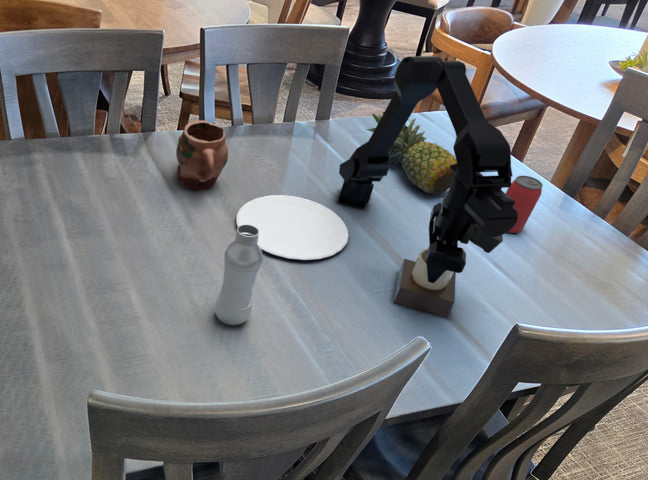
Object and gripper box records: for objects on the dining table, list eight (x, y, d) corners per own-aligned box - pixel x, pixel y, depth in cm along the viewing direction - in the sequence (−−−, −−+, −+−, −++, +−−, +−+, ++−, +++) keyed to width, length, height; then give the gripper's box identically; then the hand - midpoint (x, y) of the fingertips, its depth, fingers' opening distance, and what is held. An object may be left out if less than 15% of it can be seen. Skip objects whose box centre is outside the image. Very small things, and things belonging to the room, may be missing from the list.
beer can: (525, 236, 144) (549, 191, 136) (495, 232, 145) (517, 187, 137) (517, 220, 149) (540, 176, 141) (488, 216, 150) (510, 172, 142)
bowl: (409, 284, 122) (418, 264, 119) (412, 265, 127) (420, 245, 124) (446, 294, 120) (456, 274, 117) (447, 274, 125) (456, 254, 122)
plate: (212, 227, 140) (213, 222, 139) (275, 187, 155) (276, 182, 154) (309, 279, 128) (310, 274, 127) (367, 230, 142) (369, 226, 142)
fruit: (477, 155, 148) (404, 91, 167) (430, 172, 147) (362, 106, 166) (464, 197, 158) (397, 133, 177) (420, 214, 157) (357, 147, 176)
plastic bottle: (210, 306, 120) (224, 219, 107) (245, 305, 121) (263, 219, 108) (216, 330, 115) (231, 242, 102) (252, 329, 116) (272, 241, 103)
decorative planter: (235, 203, 148) (244, 150, 139) (185, 208, 146) (191, 154, 137) (210, 161, 163) (216, 111, 154) (164, 165, 160) (168, 114, 151)
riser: (393, 302, 124) (400, 287, 121) (398, 273, 131) (404, 258, 128) (447, 317, 121) (454, 302, 118) (448, 287, 128) (455, 272, 126)
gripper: (512, 243, 103) (475, 313, 113) (508, 189, 117) (475, 256, 127) (441, 226, 106) (411, 295, 116) (445, 175, 120) (418, 241, 130)
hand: (431, 271), depth 122 cm, fingers closed on bowl, 7 cm apart
